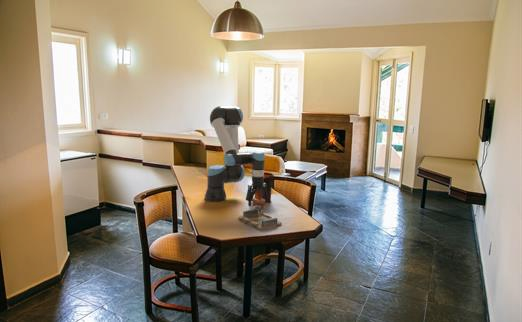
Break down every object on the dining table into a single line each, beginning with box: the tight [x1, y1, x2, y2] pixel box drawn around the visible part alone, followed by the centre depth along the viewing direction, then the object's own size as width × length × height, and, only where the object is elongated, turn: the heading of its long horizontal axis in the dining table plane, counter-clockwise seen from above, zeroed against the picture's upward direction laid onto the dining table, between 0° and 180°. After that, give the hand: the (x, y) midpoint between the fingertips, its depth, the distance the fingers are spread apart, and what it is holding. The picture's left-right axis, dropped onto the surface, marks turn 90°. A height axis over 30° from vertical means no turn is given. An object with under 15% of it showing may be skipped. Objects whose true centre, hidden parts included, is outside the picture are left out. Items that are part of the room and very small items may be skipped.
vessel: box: [254, 171, 275, 205], centre depth 252 cm, size 14×14×20 cm
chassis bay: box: [237, 208, 283, 231], centre depth 212 cm, size 21×16×4 cm
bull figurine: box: [252, 196, 267, 213], centre depth 234 cm, size 4×13×8 cm, turn 51°
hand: (256, 209), depth 234 cm, fingers open, 9 cm apart
